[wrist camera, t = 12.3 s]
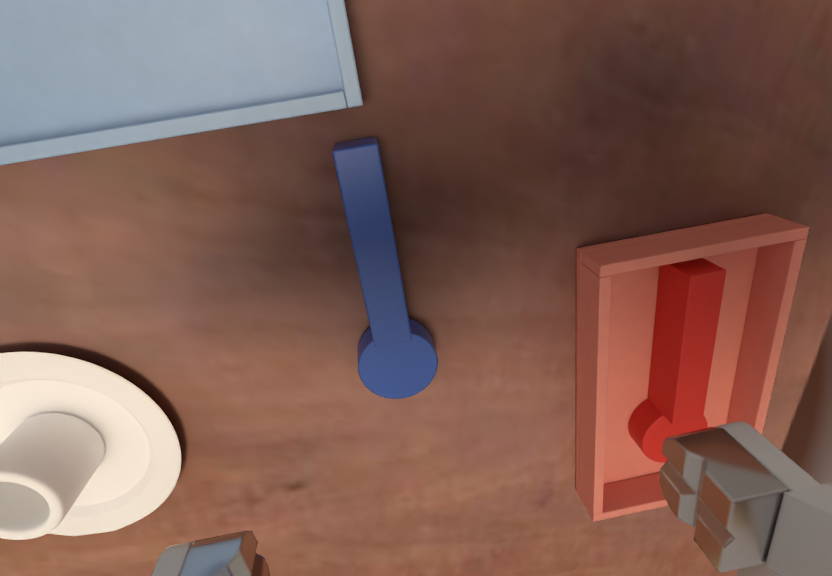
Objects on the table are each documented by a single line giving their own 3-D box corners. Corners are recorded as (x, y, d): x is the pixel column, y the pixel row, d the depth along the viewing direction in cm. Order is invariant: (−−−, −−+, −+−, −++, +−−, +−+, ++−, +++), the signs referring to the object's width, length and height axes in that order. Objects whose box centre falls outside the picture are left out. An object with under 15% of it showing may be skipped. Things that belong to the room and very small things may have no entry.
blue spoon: (308, 147, 20) (302, 155, 18) (400, 131, 20) (406, 138, 18) (365, 387, 25) (366, 416, 23) (437, 373, 25) (445, 400, 23)
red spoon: (638, 262, 23) (668, 280, 21) (713, 248, 24) (749, 265, 21) (625, 449, 29) (647, 479, 27) (686, 437, 29) (713, 465, 27)
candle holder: (126, 548, 28) (89, 625, 24) (-107, 472, 24) (-197, 550, 20) (226, 412, 25) (202, 475, 21) (-22, 298, 21) (-110, 349, 17)
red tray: (576, 247, 23) (600, 266, 21) (766, 212, 24) (810, 226, 21) (575, 489, 31) (593, 522, 28) (721, 458, 31) (750, 487, 29)
